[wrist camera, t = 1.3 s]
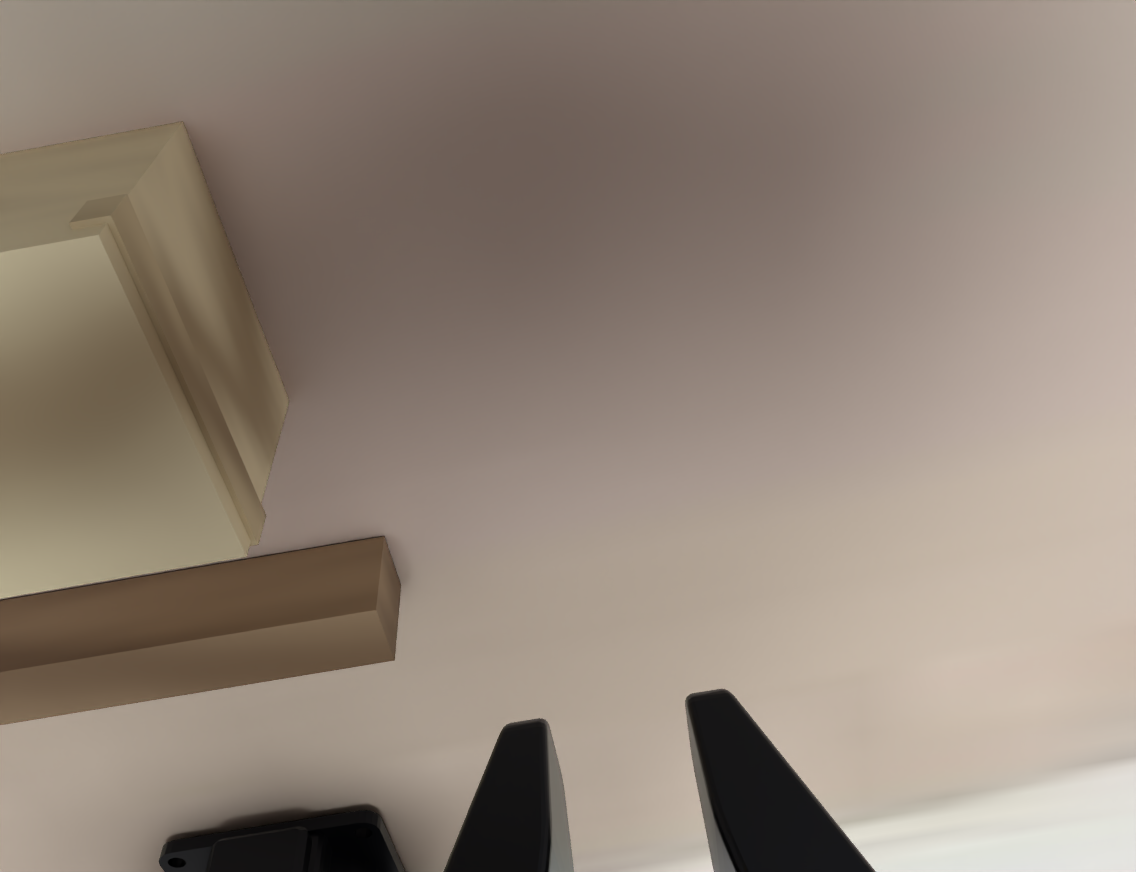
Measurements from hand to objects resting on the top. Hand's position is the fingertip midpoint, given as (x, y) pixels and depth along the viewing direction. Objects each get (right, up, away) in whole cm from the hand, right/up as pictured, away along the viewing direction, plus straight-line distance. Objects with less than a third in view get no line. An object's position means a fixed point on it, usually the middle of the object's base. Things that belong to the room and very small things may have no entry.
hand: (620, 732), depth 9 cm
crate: (-10, +5, +10) cm, 15 cm away
